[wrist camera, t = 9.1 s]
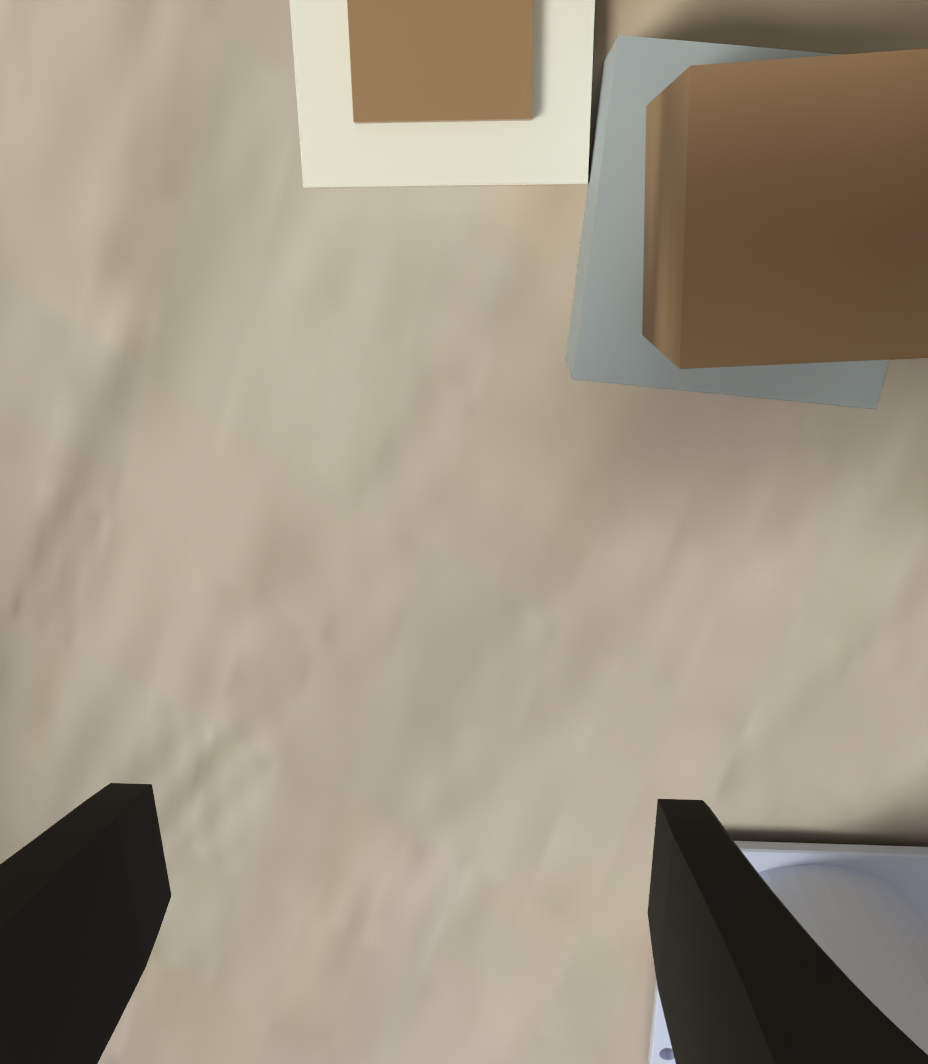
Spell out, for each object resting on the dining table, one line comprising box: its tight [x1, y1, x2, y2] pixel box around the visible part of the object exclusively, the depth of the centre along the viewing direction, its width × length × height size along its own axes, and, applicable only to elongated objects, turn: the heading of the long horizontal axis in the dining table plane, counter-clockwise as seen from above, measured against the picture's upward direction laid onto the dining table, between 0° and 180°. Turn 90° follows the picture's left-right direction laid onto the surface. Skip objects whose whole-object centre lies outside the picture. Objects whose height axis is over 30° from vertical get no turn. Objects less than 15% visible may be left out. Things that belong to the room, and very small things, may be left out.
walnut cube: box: [642, 48, 928, 369], centre depth 13 cm, size 4×4×4 cm
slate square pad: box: [565, 35, 889, 409], centre depth 17 cm, size 6×6×3 cm
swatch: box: [290, 0, 595, 188], centre depth 16 cm, size 6×6×1 cm
